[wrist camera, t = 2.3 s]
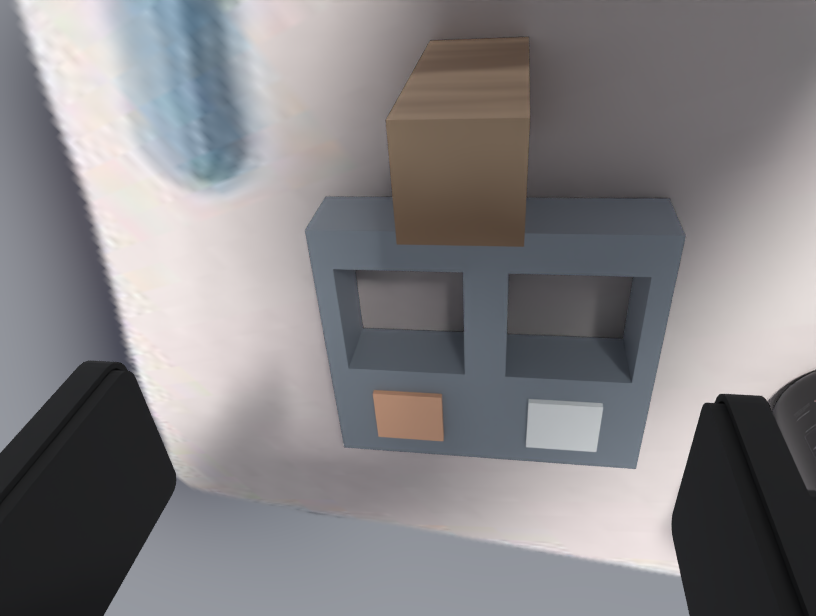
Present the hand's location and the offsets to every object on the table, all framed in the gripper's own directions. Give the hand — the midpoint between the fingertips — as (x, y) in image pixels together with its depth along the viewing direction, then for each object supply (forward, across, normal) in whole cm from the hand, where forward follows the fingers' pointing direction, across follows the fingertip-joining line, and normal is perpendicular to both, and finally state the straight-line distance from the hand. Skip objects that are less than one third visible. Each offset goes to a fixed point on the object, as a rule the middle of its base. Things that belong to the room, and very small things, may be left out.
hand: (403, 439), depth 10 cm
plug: (+20, 0, 0) cm, 20 cm away
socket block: (+20, 0, +12) cm, 23 cm away
